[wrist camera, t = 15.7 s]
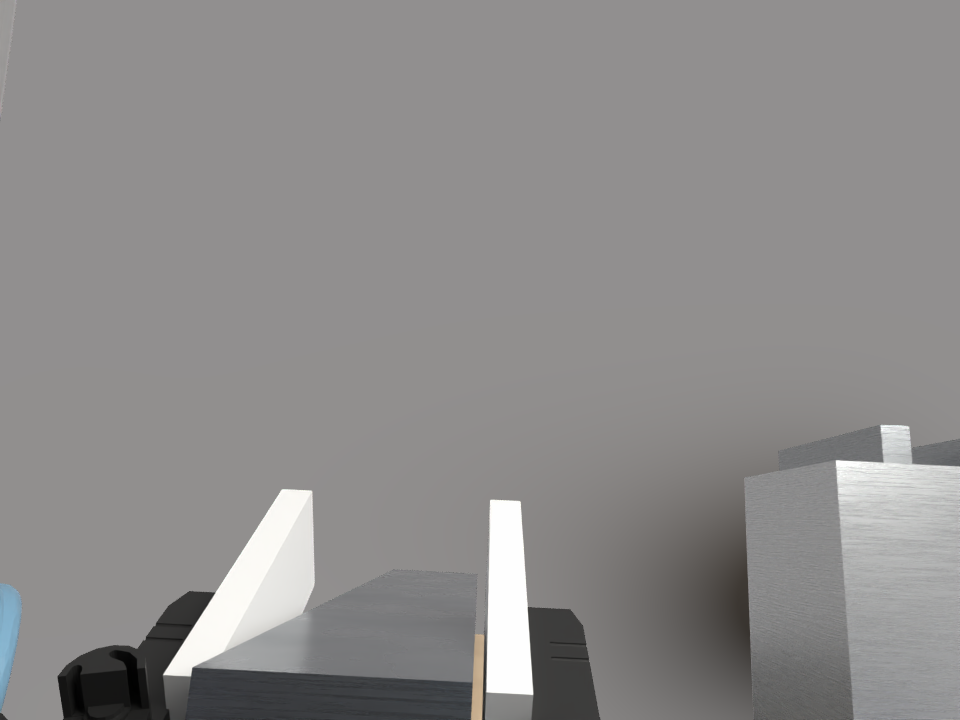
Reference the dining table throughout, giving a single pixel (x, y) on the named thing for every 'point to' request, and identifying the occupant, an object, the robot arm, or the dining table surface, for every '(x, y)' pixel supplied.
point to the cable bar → (354, 658)
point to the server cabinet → (856, 580)
